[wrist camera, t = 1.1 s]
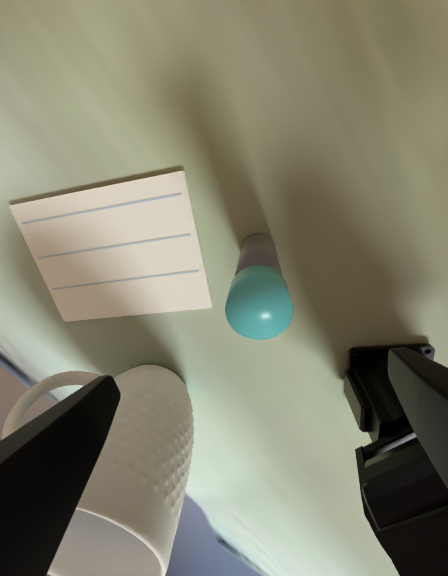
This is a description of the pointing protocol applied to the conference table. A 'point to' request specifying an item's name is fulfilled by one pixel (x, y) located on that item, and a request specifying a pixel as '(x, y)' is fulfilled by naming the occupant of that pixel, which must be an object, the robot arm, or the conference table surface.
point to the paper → (118, 249)
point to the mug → (127, 476)
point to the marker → (258, 292)
